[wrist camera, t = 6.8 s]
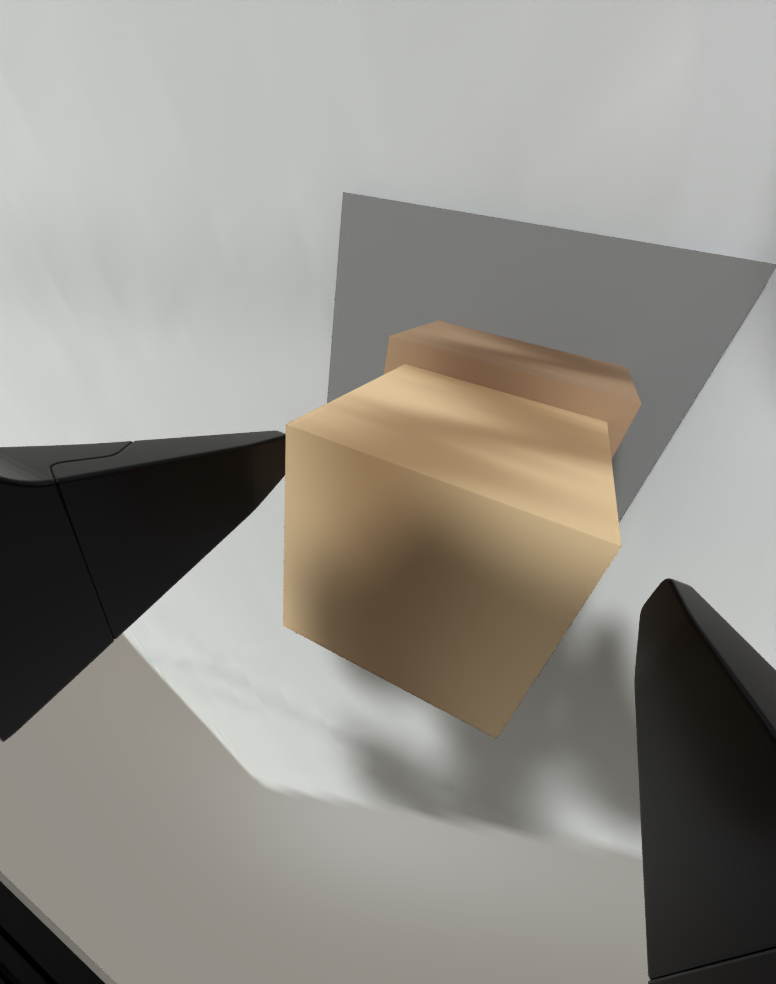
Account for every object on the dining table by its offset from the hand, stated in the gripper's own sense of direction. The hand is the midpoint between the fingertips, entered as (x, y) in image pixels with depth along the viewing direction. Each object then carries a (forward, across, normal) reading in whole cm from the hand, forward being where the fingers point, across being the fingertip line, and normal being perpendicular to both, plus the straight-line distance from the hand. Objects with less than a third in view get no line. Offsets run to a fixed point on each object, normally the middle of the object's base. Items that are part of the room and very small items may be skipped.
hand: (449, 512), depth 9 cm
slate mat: (+6, +1, -1) cm, 7 cm away
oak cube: (+2, 0, 0) cm, 2 cm away
